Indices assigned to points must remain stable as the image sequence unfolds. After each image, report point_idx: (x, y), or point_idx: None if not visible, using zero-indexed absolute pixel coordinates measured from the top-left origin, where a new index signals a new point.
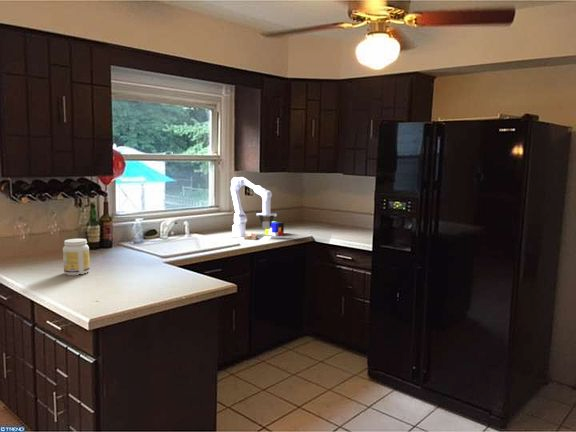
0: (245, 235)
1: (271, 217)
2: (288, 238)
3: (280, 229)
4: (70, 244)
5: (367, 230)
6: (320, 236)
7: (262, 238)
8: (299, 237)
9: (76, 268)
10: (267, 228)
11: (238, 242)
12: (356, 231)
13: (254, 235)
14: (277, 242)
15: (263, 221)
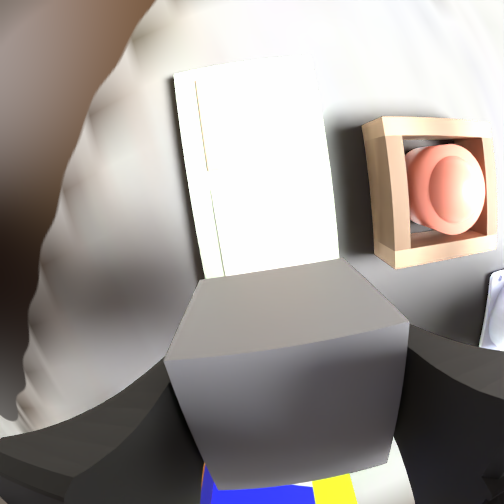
0: (488, 145)
1: (4, 457)
2: (84, 358)
3: None
4: None
5: (4, 501)
6: (3, 431)
7: (310, 226)
8: (50, 405)
9: None
10: (240, 277)
11: (451, 19)
12: None
13: (414, 195)
14: (89, 112)
15: (390, 418)
